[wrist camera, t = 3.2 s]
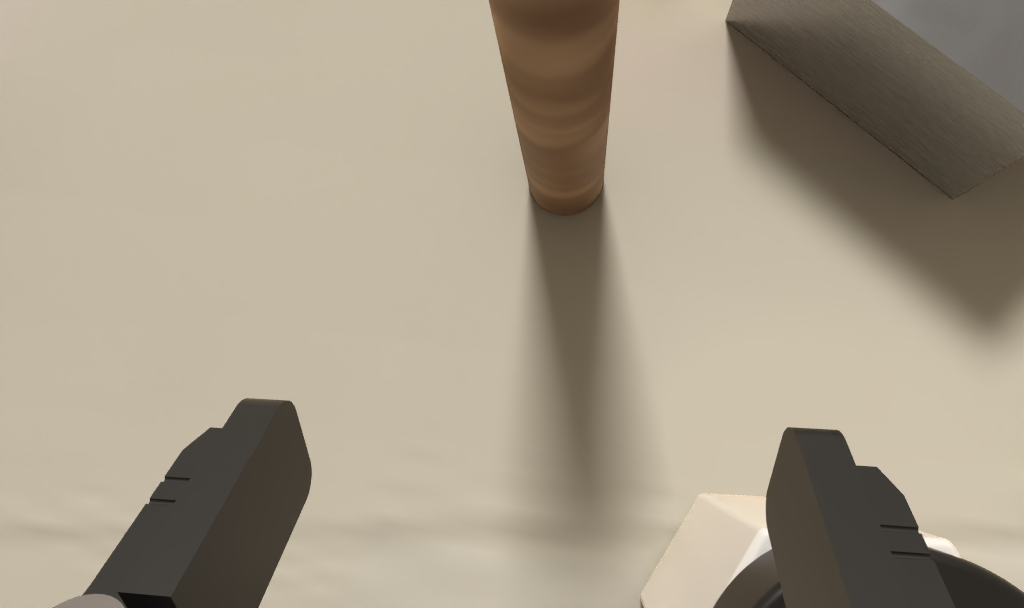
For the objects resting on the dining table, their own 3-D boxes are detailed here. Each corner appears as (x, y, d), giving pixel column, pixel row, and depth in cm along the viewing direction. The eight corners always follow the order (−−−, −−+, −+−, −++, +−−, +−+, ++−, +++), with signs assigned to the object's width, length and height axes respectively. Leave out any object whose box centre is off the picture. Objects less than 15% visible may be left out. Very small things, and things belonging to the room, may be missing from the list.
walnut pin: (566, 230, 29) (552, 49, 15) (513, 181, 29) (453, -36, 16) (618, 177, 29) (653, -50, 15) (565, 130, 29) (551, -129, 16)
